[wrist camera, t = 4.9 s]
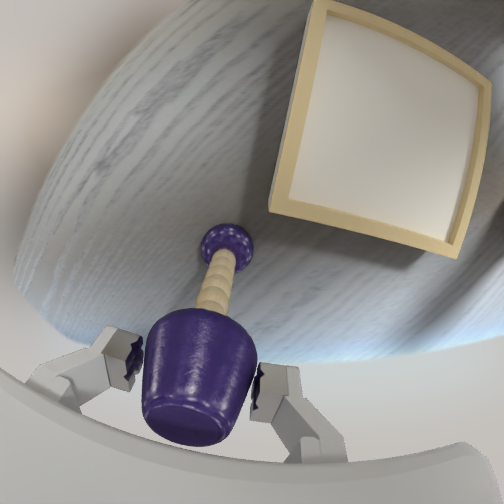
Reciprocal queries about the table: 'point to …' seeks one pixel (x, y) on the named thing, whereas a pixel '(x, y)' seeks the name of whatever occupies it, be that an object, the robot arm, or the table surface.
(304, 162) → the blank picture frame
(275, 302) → the table surface
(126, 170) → the table surface
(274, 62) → the table surface
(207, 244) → the toy lamp
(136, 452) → the robot arm
